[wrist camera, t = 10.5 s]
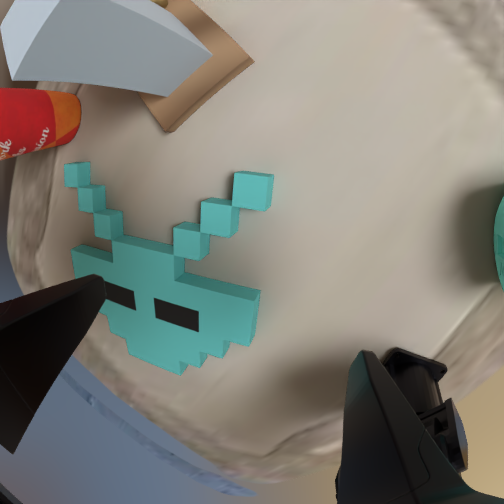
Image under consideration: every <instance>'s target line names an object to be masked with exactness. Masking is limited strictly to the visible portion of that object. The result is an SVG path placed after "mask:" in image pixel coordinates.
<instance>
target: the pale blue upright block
mask: <svg viewBox="0 0 504 504" xmlns="http://www.w3.org/2000/svg"><path fill="white" fill-rule="evenodd" d="M0 28H1V34H2V40H3V44H4V49H5V54H6V58H7V63H8V67H9V70H10V74H11V78H12V80H38V81H60V82H73V83H84V84H93V85H101V86H109V87H116V88H122V89H128V90H134V91H140V92H145V93H150V94H155V95H160V96H165V97H168V96H169V95H170V94H171V93H172V92H173V91H174V90H175V89H176V88H177V87H178V86H179V85H181V84H182V83H183V82H184V81H185V80H186V79H187V78H188V77H189V76H190V75H191V74H192V73H193V72H195V71H196V70H197V69H198V68H199V67H200V66H201V65H202V64H204V63H205V62H206V61H207V60H208V59H209V58H211V57H212V56H213V54H212V53H211V52H210V51H209V50H208V49H207V48H206V47H205V46H204V45H203V44H202V43H201V42H200V41H199V40H198V39H197V38H196V37H195V36H194V35H193V34H192V33H191V32H190V31H189V30H188V29H187V28H186V27H185V26H184V25H183V24H182V23H181V22H180V21H179V20H178V19H177V18H176V17H175V16H174V15H173V14H172V13H170V12H169V11H167V10H166V9H164V8H162V7H160V6H159V5H157V4H155V3H154V2H152V1H150V0H15V2H14V3H13V5H12V6H11V8H10V10H9V12H8V13H7V15H6V17H5V19H4V20H3V22H2V24H1V26H0Z"/></svg>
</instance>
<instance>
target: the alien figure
mask: <svg viewBox="0 0 504 504" xmlns="http://www.w3.org/2000/svg"><path fill="white" fill-rule="evenodd" d="M64 180H65V187H77V188H78V206H79V211H84V212H90V213H93V217H94V230H95V236H96V237H100V238H104V239H108V240H111V242H112V253H111V252H107V251H104V250H100V249H97V248H93V247H90V246H86V245H83V244H81V245H79V246H77V247H75V248H73V249H71V255H72V262H73V268H74V273H75V279H77V278H80V277H84V276H87V275H90V274H97V275H99V276H102V277H103V279H104V283H105V289H106V300H105V302H104V304H103V306H102V307H101V309H100V311H99V312H100V313H102V314H104V315H106V316H107V318H108V322H109V327H110V331H111V333H114V334H116V335H118V336H120V337H122V338H125V339H126V343H127V348H128V352H129V354H130V355H132V356H134V357H137V358H139V359H141V360H143V361H146V362H148V363H150V364H153V365H155V366H158V367H160V368H162V369H165V370H167V371H170V372H173V373H175V374H178V375H180V376H181V375H182V373H183V372H184V370H185V369H186V368H187V366H188V364H190V365H193V366H196V367H198V368H200V367H201V366H202V364H203V363H204V361H205V360H206V358H207V354H209V355H213V356H216V357H219V358H223V357H224V355H225V353H226V352H227V350H228V348H229V345H230V342H233V343H237V344H241V345H244V346H248V347H249V346H250V344H251V342H252V340H253V337H254V335H255V330H256V323H257V315H258V307H259V299H260V291H261V290H257V289H252V288H248V287H244V286H239V285H235V284H231V283H227V282H222V281H218V280H214V279H210V278H206V277H202V276H198V275H194V274H190V273H186V272H185V258H188V259H192V260H196V261H200V260H201V259H203V258H204V257H205V256H206V255H207V254H209V243H210V234H211V235H216V236H222V237H227V238H230V237H231V236H232V235H234V234H235V233H236V232H237V231H238V223H239V211H240V208H247V209H253V210H259V211H266V210H267V209H268V208H269V207H270V206H271V199H272V190H273V181H274V175H272V174H265V173H257V172H249V171H240V172H236V173H234V184H233V197H232V200H226V199H219V198H209V199H207V200H204V201H202V202H201V222H200V224H196V223H190V222H183V223H181V224H179V225H177V226H175V227H173V245H169V244H165V243H160V242H155V241H151V240H146V239H142V238H137V237H133V236H128V235H124V233H123V212H122V211H118V210H111V209H106V198H105V186H104V185H92V184H90V162H74V163H69V164H64Z"/></svg>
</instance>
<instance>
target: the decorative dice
mask: <svg viewBox="0 0 504 504" xmlns="http://www.w3.org/2000/svg"><path fill="white" fill-rule="evenodd" d="M494 253H495V260H496V266H497V271H498V276H499V279H500V283H501V286H502V289H503V291H504V196H503V198H502V200H501V202H500V205H499V208H498V210H497V213H496V218H495V224H494Z"/></svg>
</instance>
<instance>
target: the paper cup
mask: <svg viewBox="0 0 504 504" xmlns="http://www.w3.org/2000/svg"><path fill="white" fill-rule="evenodd" d="M80 121H81V105H80V101H79V99H78V98H77V96H75V95H74V94H70V93H65V92H57V91H48V90H37V89H20V88H0V160H3V159H7V158H10V157H14V156H18V155H21V154H25V153H29V152H33V151H37V150H42V149H46V148H50V147H55V146H59V145H63V144H66V143H69V142H70V141H71V140H72V139H73V138H74V137H75V135H76V133H77V131H78V128H79V125H80Z"/></svg>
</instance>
